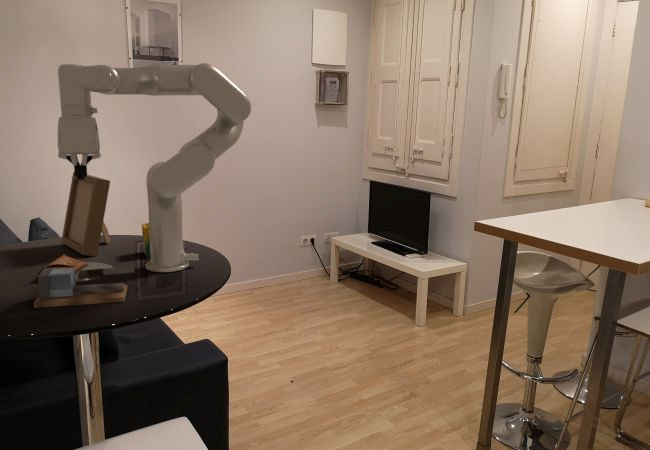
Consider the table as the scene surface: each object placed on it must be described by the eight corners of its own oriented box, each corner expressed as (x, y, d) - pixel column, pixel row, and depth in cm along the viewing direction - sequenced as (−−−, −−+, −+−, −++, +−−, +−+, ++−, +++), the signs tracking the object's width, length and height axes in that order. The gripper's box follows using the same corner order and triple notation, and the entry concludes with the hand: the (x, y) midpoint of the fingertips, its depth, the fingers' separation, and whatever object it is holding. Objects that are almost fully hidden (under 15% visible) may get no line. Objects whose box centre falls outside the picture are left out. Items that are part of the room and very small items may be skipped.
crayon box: (143, 252, 176) (141, 217, 174) (152, 251, 177) (150, 217, 175) (145, 257, 170) (143, 222, 167) (155, 256, 171) (153, 221, 168)
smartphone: (134, 268, 159) (79, 272, 153) (134, 265, 159) (79, 270, 153) (136, 275, 152) (78, 280, 147) (135, 272, 152) (78, 277, 146)
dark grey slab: (55, 290, 133) (53, 267, 132) (49, 299, 127) (46, 276, 125) (46, 291, 133) (44, 268, 131) (39, 300, 126) (37, 276, 125)
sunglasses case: (70, 281, 144) (55, 261, 142) (48, 294, 144) (32, 274, 142) (90, 263, 161) (77, 245, 160) (70, 275, 161) (56, 257, 160)
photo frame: (83, 258, 167) (77, 179, 162) (61, 244, 183) (55, 172, 178) (129, 250, 177) (125, 176, 172) (104, 238, 193) (100, 170, 188)
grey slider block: (76, 289, 134) (74, 268, 133) (72, 296, 129) (70, 274, 128) (54, 290, 132) (52, 269, 131) (49, 297, 127) (47, 275, 126)
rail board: (127, 288, 139) (126, 277, 139) (124, 301, 130) (123, 290, 129) (43, 293, 134) (42, 282, 133) (34, 307, 125) (32, 295, 124)
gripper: (107, 112, 148) (111, 177, 152) (49, 111, 144) (54, 178, 148) (104, 112, 141) (108, 180, 145) (42, 111, 137) (48, 181, 141)
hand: (81, 179), depth 147 cm, fingers closed
